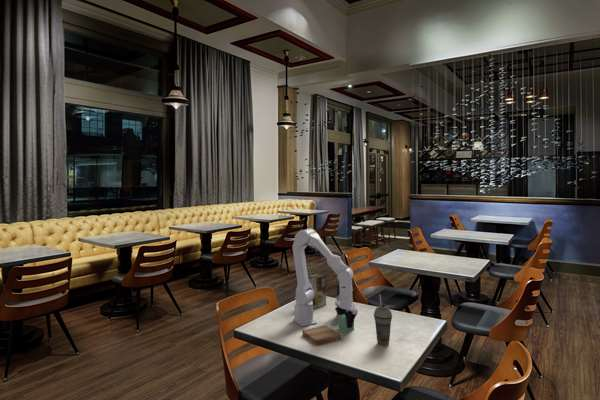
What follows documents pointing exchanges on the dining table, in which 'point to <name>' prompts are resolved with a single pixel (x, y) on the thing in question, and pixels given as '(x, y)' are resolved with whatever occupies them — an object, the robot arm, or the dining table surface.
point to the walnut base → (322, 335)
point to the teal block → (344, 323)
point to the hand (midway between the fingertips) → (346, 325)
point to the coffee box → (318, 289)
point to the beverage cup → (383, 324)
